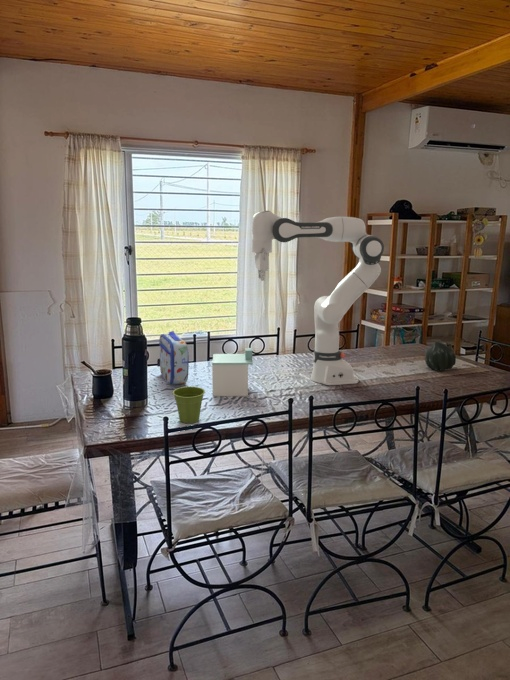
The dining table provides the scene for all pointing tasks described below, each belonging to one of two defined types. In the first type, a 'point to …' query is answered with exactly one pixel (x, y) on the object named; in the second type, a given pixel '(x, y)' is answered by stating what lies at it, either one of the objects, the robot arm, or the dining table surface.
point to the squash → (440, 357)
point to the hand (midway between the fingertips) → (261, 279)
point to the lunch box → (173, 359)
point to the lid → (233, 358)
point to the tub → (230, 380)
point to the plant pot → (189, 403)
